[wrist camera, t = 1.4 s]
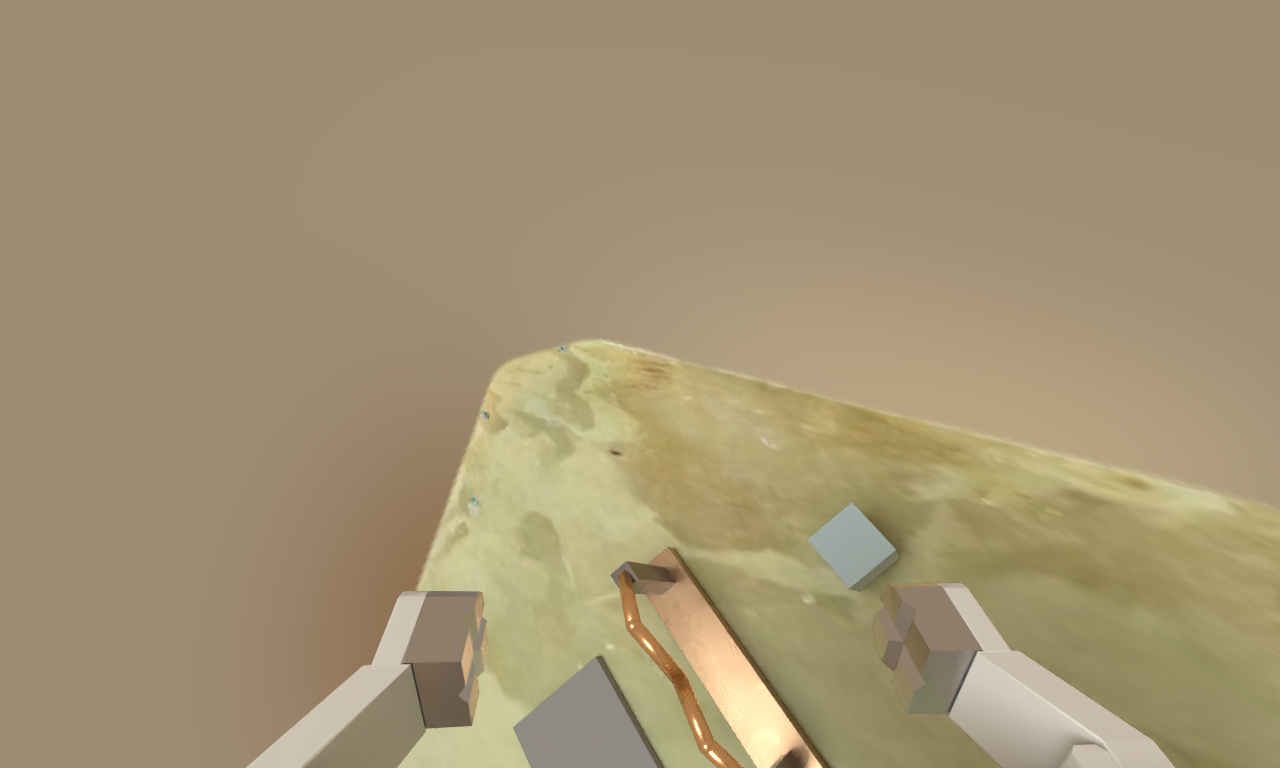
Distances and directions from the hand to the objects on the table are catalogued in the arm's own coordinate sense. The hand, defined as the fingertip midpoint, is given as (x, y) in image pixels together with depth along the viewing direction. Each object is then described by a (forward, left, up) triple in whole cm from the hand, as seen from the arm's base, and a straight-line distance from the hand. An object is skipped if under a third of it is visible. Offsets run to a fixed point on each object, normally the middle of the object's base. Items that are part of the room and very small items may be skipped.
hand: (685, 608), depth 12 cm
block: (+3, -3, -39) cm, 39 cm away
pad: (+3, +25, -39) cm, 46 cm away
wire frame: (+3, +11, -39) cm, 41 cm away
